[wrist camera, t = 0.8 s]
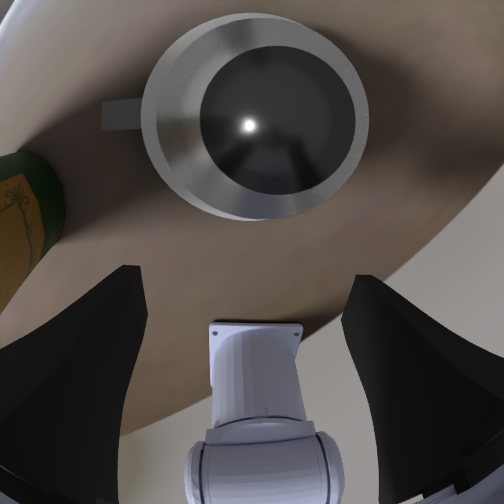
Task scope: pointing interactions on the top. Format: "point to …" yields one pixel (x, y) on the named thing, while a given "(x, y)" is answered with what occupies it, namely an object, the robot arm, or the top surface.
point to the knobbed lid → (262, 118)
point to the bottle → (26, 218)
